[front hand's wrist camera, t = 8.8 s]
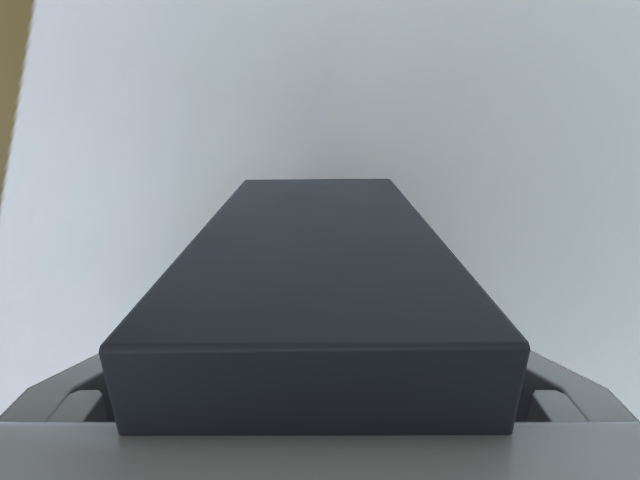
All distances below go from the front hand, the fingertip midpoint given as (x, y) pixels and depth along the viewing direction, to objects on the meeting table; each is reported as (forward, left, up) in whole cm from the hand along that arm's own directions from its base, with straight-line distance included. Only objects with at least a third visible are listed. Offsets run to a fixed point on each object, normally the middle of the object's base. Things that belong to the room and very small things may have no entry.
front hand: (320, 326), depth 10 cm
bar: (+8, +4, -4) cm, 10 cm away
